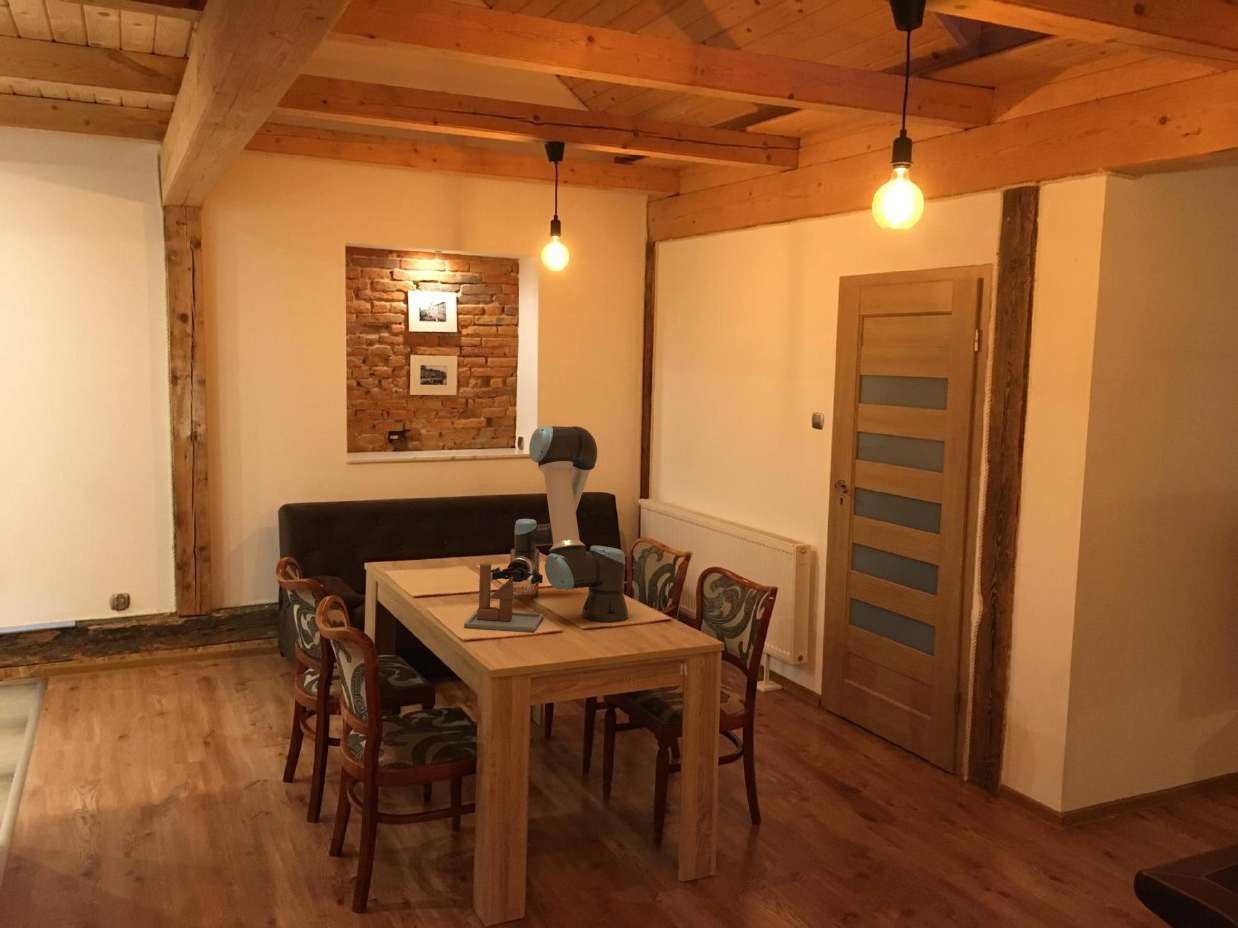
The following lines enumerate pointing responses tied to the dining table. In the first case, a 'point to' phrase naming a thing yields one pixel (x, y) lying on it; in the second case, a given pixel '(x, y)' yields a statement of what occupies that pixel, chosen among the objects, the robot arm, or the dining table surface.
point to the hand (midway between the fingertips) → (507, 582)
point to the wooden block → (494, 597)
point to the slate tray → (507, 623)
